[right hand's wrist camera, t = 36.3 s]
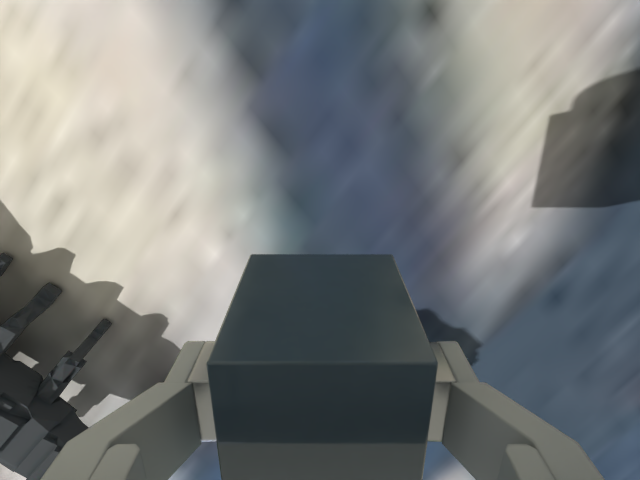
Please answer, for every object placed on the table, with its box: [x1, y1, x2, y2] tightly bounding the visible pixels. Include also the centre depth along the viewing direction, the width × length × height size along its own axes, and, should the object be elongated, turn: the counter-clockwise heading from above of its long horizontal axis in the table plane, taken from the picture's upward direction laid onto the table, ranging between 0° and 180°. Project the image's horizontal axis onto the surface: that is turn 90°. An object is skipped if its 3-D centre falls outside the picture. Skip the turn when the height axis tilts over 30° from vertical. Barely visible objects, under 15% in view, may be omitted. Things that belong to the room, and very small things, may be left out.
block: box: [206, 254, 438, 480], centre depth 10 cm, size 5×4×5 cm
